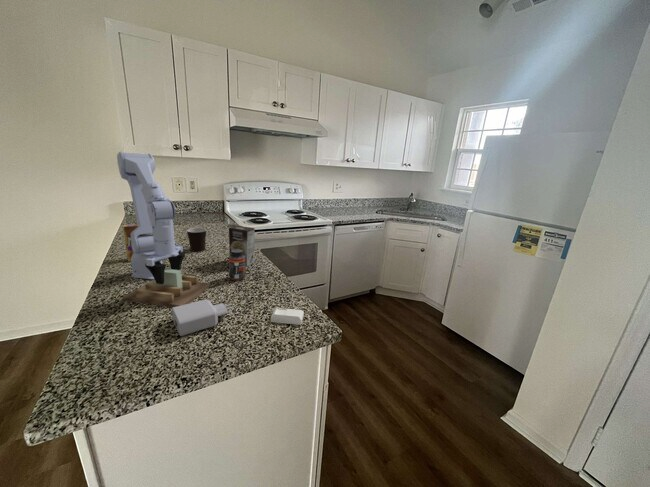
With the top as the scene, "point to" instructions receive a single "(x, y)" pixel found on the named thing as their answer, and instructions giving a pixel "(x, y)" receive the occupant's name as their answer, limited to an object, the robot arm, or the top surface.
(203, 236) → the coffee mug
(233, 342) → the top surface
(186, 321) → the grey bottle
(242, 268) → the supplement bottle
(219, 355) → the top surface
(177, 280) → the pale green block
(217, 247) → the top surface
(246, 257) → the coffee box
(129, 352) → the top surface
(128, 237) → the candy box
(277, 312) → the soap bar
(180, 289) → the dish rack
